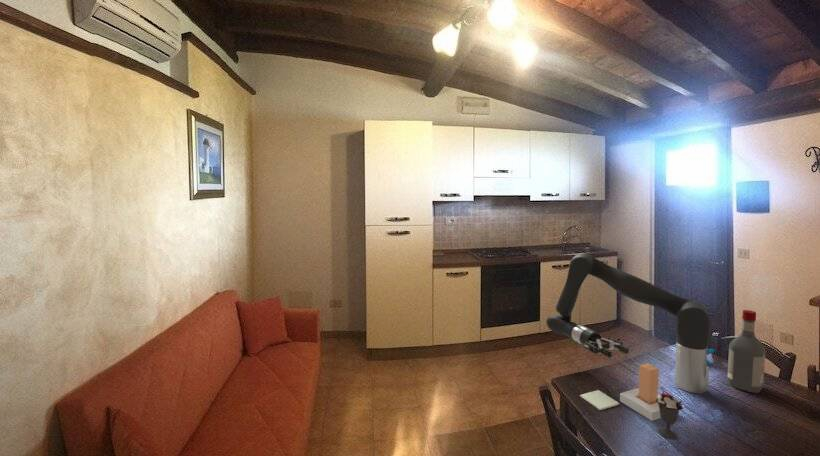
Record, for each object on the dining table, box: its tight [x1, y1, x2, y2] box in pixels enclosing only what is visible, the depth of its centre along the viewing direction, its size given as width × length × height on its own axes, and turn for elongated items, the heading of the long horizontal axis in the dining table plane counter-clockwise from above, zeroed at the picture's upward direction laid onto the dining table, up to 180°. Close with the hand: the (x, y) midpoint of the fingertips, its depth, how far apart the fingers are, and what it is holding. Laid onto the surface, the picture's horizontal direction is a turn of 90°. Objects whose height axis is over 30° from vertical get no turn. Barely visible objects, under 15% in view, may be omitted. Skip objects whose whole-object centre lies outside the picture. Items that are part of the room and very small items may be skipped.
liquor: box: [726, 309, 766, 394], centre depth 131 cm, size 9×9×30 cm
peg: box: [638, 362, 660, 405], centre depth 121 cm, size 4×4×15 cm
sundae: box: [656, 386, 684, 440], centre depth 107 cm, size 7×7×15 cm
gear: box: [706, 347, 715, 366], centre depth 150 cm, size 11×6×10 cm
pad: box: [579, 389, 620, 411], centre depth 126 cm, size 9×9×1 cm
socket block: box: [619, 387, 661, 422], centre depth 121 cm, size 12×12×3 cm
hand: (619, 353), depth 131 cm, fingers open, 8 cm apart
